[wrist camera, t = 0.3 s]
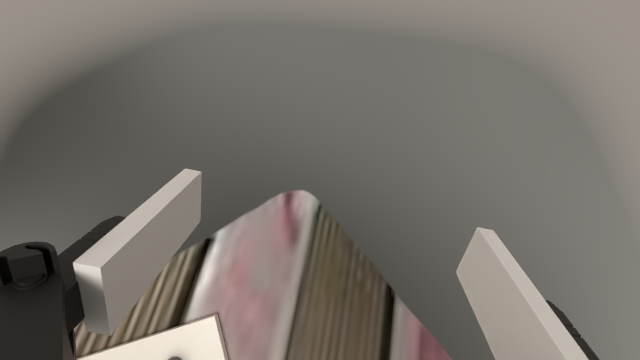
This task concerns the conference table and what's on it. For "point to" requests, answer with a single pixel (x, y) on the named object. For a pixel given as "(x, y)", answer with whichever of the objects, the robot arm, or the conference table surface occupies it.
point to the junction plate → (172, 344)
